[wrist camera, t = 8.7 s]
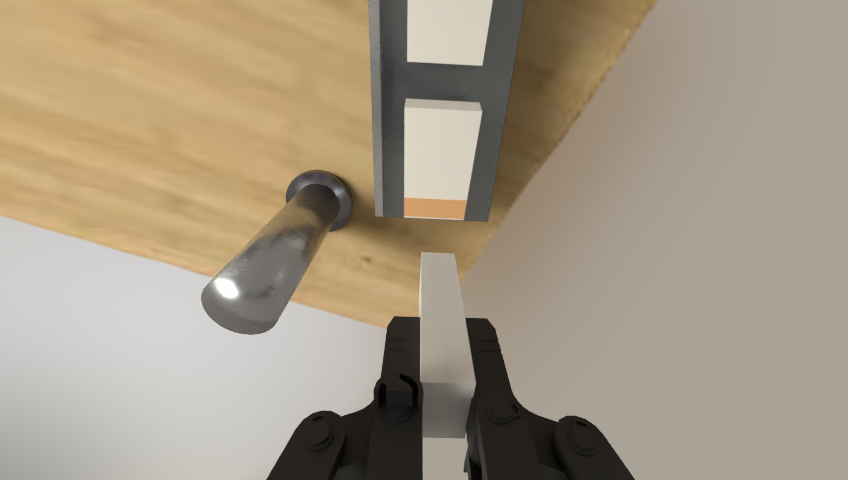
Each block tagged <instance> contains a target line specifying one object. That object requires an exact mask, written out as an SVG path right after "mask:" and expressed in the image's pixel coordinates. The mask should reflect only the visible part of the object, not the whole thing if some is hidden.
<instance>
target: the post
mask: <svg viewBox="0 0 848 480" xmlns="http://www.w3.org/2000/svg"><path fill="white" fill-rule="evenodd" d="M286 203H287V204H286V205H285V206H284V207H283V208H282V209H281V210H280V211H279V212H278V213H277V214H276V215H275V216H274V217H273V218H272V219H271V220H270V221H269V222H268V223H267V224H266V225H265V227H264V228H263V229H262V230H261V231H260V232H259V233H258V234H257V235H256V236H255V237H254V238H253V239H252V240H251V241H250V242H249V243H248V244H247V245H246V246H245V247H244V248H243V249H242V250H241V251H240V252H239V253H238V254H237V255H236V256H235V257H234V258H233V259H232V260H231V261H230V262H229V263H228V264H227V265H226V266H225V267H224V268H223V269H222V270H221V271H220V272H219V273H218V274H217V275H216V276H215V277H214V278H213V279H212V280H211V282H210V283H209V284H208V285H207V286H206V287H205V288H204V290H203V292H202V295H201V301H202V305H203V307H204V310H205V311H206V313H207V314H208V315H209V317H211V319H212V320H213V321H215V322H216V323H217V324H219V325H220V326H222V327H224V328H226V329H228V330H230V331H233V332H237V333H241V334H251V335H252V334H260V333H264V332H266V331H268V330H270V329H271V328H272V327H273V326H275V324H276V323H277V321H278V319H279V317H280V316H281V314H282V312H283V310H284V309H285V307H286V305H287V303H288V302H289V300H290V298H291V296H292V295H293V293H294V291H295V289H296V288H297V286H298V284H299V282H300V281H301V279H302V277H303V275H304V274H305V272H306V270H307V268H308V267H309V265H310V263H311V262H312V260H313V258H314V256H315V255H316V253H317V251H318V249H319V248H320V246H321V244H322V242H323V241H324V239H325V237H326V235H327V234H328V232H331V231H335V230H337V229H339V228H341V227H342V226H343V225H344V224H345V223H346V222H347V220H348V218H349V216H350V214H351V212H352V208H353V200H352V196H351V193H350V191H349V189H348V187H347V186H346V185H345V183H344V182H343V181H342V180H341V179H339V178H338V177H337V176H335V175H333V174H331V173H329V172H326V171H321V170H311V171H307V172H304V173H302V174H300V175H299V176H297V177H296V178H295V179H294V180H293V181H292V182H291V183H290V185H289V187H288V189H287V193H286Z"/></svg>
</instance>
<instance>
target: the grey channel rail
mask: <svg viewBox="0 0 848 480" xmlns="http://www.w3.org/2000/svg"><path fill="white" fill-rule="evenodd" d="M368 2H369V34H370V65H371V97H372V129H373V161H374V193H375V216H377V217H397V218H405V217H404V107H405V101H406V98H407V99H425V100H444V101H463V102H480V106H481V109H482V116H481V122H480V128H479V134H478V139H477V145H476V151H475V157H474V162H473V168H472V174H471V180H470V185H469V191H468V197H467V204H466V210H465V215H464V220H463V221H485V222H488V218H489V212H490V206H491V200H492V194H493V188H494V182H495V176H496V170H497V164H498V158H499V152H500V146H501V140H502V134H503V128H504V122H505V116H506V110H507V104H508V98H509V92H510V86H511V80H512V74H513V68H514V62H515V56H516V50H517V44H518V38H519V32H520V26H521V20H522V14H523V8H524V2H525V0H493V2H492V9H491V15H490V21H489V27H488V33H487V40H486V46H485V52H484V58H483V65H482V66H476V65H458V64H440V63H422V62H407V15H408V0H368ZM419 219H427V218H419ZM441 220H448V219H441Z"/></svg>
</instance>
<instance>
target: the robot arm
mask: <svg viewBox="0 0 848 480" xmlns="http://www.w3.org/2000/svg"><path fill="white" fill-rule="evenodd" d="M466 432H467V442H468V449H467V453H466V458H465V462H464V472H467V471H468V479H469V480H635V479H634V478H633V476H632V475H631V473H630V472H629V470H628V469H627V468H626V466H625V465H624V463H623V462H622V461H621V459H620V458H619V456H618V455H617V454H616V452H615V451H614V449H613V448H612V446H611V445H610V443H609V442H608V441H607V439H606V438H605V437H604V435H603V434H602V433H601V432H600V431H599V429H598V428H597V427H596V426H595V425H593V424H592V423H590V422H589V421H587V420H586V419H583V418H581V417H577V416H565V417H563V418H562V419H560V420H559V422H556V421H553V420H550V419H547V418H544V417H541V416H538V415H536V414H534V413H532V412H530V411H528V410H527V409H525V408H524V407H523V406H522V405H521V404H520V403H519V402H518V401H517V399H516V398H515V396H514V395H513V392H512V390H511V386H510V382H509V379H508V375H507V372H506V368H505V364H504V360H503V356H502V354H501V349H500V345H499V343H498V338H497V334H496V330H495V328H494V327H493V326H492V324H491V323H490V322H489V321H488V319H484V318H465V315H464V309H463V303H462V296H461V290H460V284H459V278H458V272H457V266H456V260H455V254H454V253H429V252H422V253H421V272H420V291H419V317H399V316H394V318H393V319H392V320H391V322H390V323H389V325H388V326H387V334H386V342H385V350H384V357H383V365H382V372H381V378H380V379H379V380H378V381H377V383H376V385H375V388H374V400H373V401H372V402H371V404H369V405H368V406H367V407H365V408H364V409H362V410H359V411H357V412H354V413H351V414H347V415H344V416H341V417H340V415H338V414H336V413H334V412H332V411H319V412H316V413H313V414H311V415H310V416H308V417H307V418H305V419H304V420H303V421H302V422H301V423H300V424H299V426H298V427H297V428H296V430H295V431H294V433H293V435H292V437H291V438H290V440H289V442H288V443H287V445H286V447H285V449H284V450H283V452H282V454H281V456H280V457H279V459H278V461H277V462H276V464H275V466H274V467H273V469H272V471H271V473H270V474H269V476H268V478H267V479H266V480H423V479H422V478H423V474H422V437H425V438H426V437H427V438H465V434H466Z"/></svg>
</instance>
